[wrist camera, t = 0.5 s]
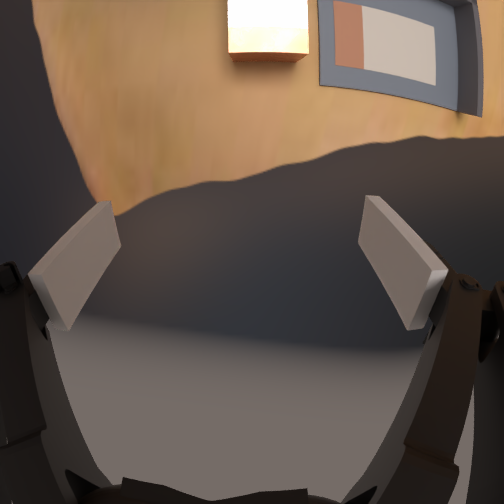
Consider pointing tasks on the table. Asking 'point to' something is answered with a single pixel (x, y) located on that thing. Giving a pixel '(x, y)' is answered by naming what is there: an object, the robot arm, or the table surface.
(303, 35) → the aluminium block
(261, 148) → the table surface
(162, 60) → the table surface
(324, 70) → the corner tray
